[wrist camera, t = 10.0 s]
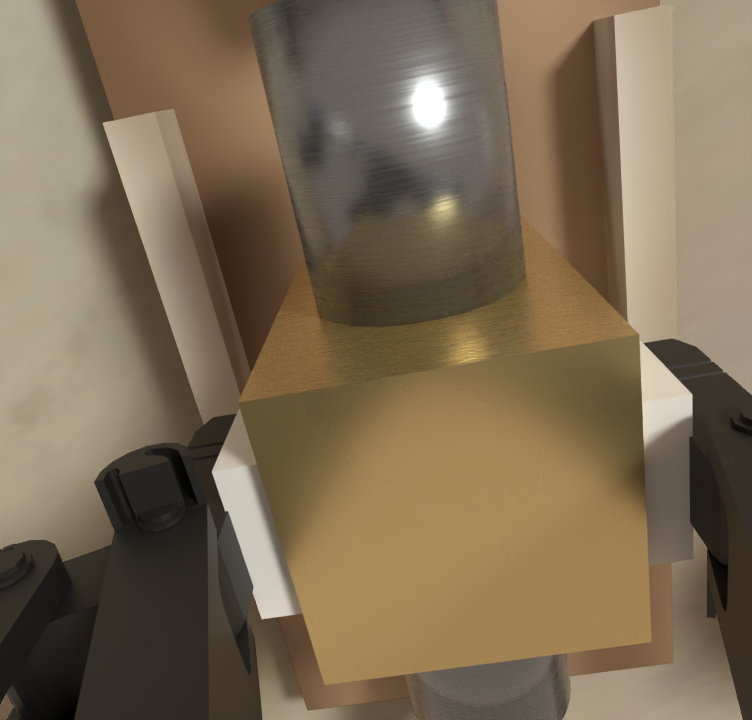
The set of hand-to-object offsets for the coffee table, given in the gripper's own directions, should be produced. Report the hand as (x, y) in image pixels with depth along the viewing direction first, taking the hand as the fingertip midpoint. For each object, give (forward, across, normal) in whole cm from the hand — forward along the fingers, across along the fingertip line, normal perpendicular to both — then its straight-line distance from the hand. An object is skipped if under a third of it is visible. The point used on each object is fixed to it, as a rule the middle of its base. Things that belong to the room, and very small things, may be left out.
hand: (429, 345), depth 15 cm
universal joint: (+1, 0, 0) cm, 1 cm away
